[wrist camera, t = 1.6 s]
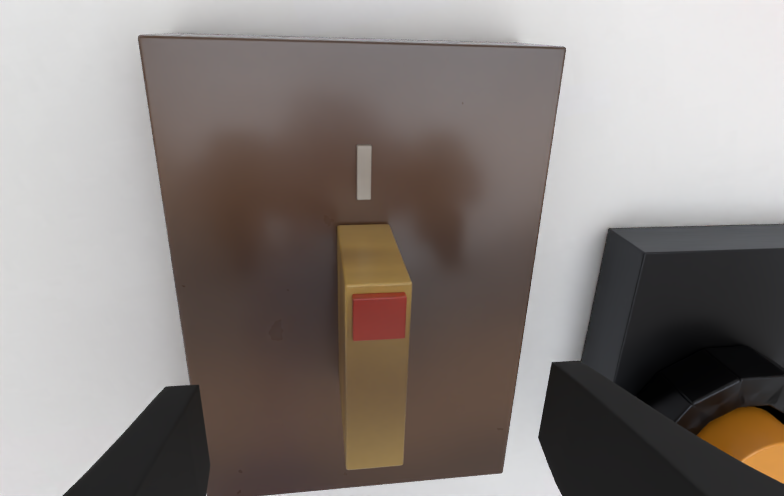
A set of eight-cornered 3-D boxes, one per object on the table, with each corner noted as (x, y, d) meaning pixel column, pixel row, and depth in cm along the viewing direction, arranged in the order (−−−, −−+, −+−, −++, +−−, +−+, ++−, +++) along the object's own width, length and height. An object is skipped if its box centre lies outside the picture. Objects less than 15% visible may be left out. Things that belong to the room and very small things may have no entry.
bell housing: (806, 428, 24) (894, 499, 20) (562, 450, 22) (611, 532, 19) (896, 220, 20) (1026, 264, 16) (608, 227, 18) (681, 278, 15)
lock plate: (478, 415, 21) (504, 477, 18) (221, 435, 20) (206, 506, 17) (522, 42, 15) (570, 47, 13) (170, 33, 14) (134, 35, 11)
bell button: (757, 479, 19) (798, 519, 18) (669, 487, 19) (702, 531, 17) (789, 401, 18) (836, 438, 16) (695, 409, 17) (733, 447, 16)
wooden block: (385, 377, 16) (404, 473, 12) (339, 380, 16) (346, 479, 12) (389, 223, 14) (414, 288, 10) (336, 224, 14) (345, 290, 10)
